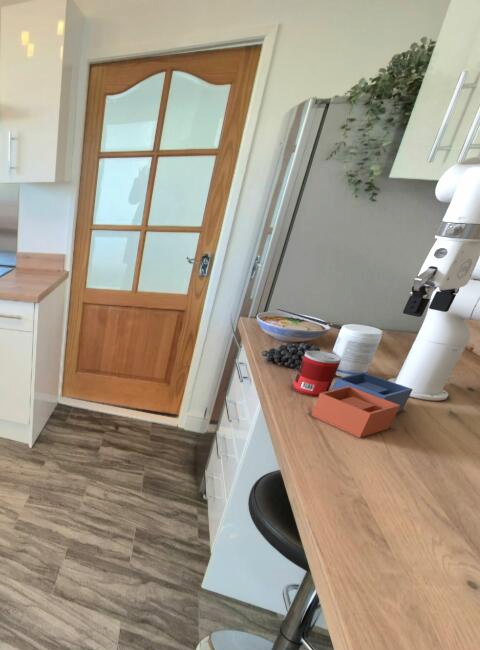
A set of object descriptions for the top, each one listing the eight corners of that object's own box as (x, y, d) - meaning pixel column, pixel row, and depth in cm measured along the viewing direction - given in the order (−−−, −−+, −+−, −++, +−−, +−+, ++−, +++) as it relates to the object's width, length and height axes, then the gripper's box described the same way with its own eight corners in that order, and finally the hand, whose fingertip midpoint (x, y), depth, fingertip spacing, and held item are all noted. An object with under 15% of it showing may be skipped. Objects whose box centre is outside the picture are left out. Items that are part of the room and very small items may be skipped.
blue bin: (354, 392, 122) (363, 372, 119) (401, 411, 112) (412, 389, 109) (327, 399, 118) (336, 378, 115) (374, 419, 109) (385, 396, 106)
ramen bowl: (234, 331, 169) (240, 311, 165) (281, 326, 174) (288, 306, 170) (291, 354, 147) (299, 332, 143) (343, 348, 152) (352, 326, 148)
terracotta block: (345, 413, 110) (353, 396, 108) (367, 423, 106) (375, 405, 104) (332, 417, 109) (340, 399, 106) (354, 426, 104) (362, 409, 102)
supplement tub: (372, 378, 130) (393, 332, 123) (347, 381, 128) (367, 335, 121) (340, 366, 138) (358, 322, 132) (317, 368, 136) (334, 324, 130)
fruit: (266, 336, 137) (325, 345, 129) (267, 337, 144) (323, 346, 135) (258, 362, 139) (315, 373, 130) (259, 362, 146) (314, 372, 137)
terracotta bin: (339, 407, 114) (348, 385, 111) (389, 428, 105) (400, 405, 102) (310, 415, 110) (319, 393, 108) (359, 437, 101) (370, 414, 98)
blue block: (360, 397, 118) (367, 381, 115) (381, 406, 113) (389, 389, 111) (348, 401, 116) (355, 384, 114) (369, 409, 112) (377, 392, 110)
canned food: (332, 398, 119) (347, 362, 114) (300, 395, 120) (313, 359, 115) (318, 386, 125) (331, 351, 120) (287, 383, 127) (300, 349, 122)
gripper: (463, 236, 82) (422, 322, 89) (511, 232, 87) (469, 313, 95) (415, 232, 88) (380, 312, 96) (463, 228, 94) (426, 304, 101)
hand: (424, 312), depth 95 cm, fingers open, 9 cm apart
